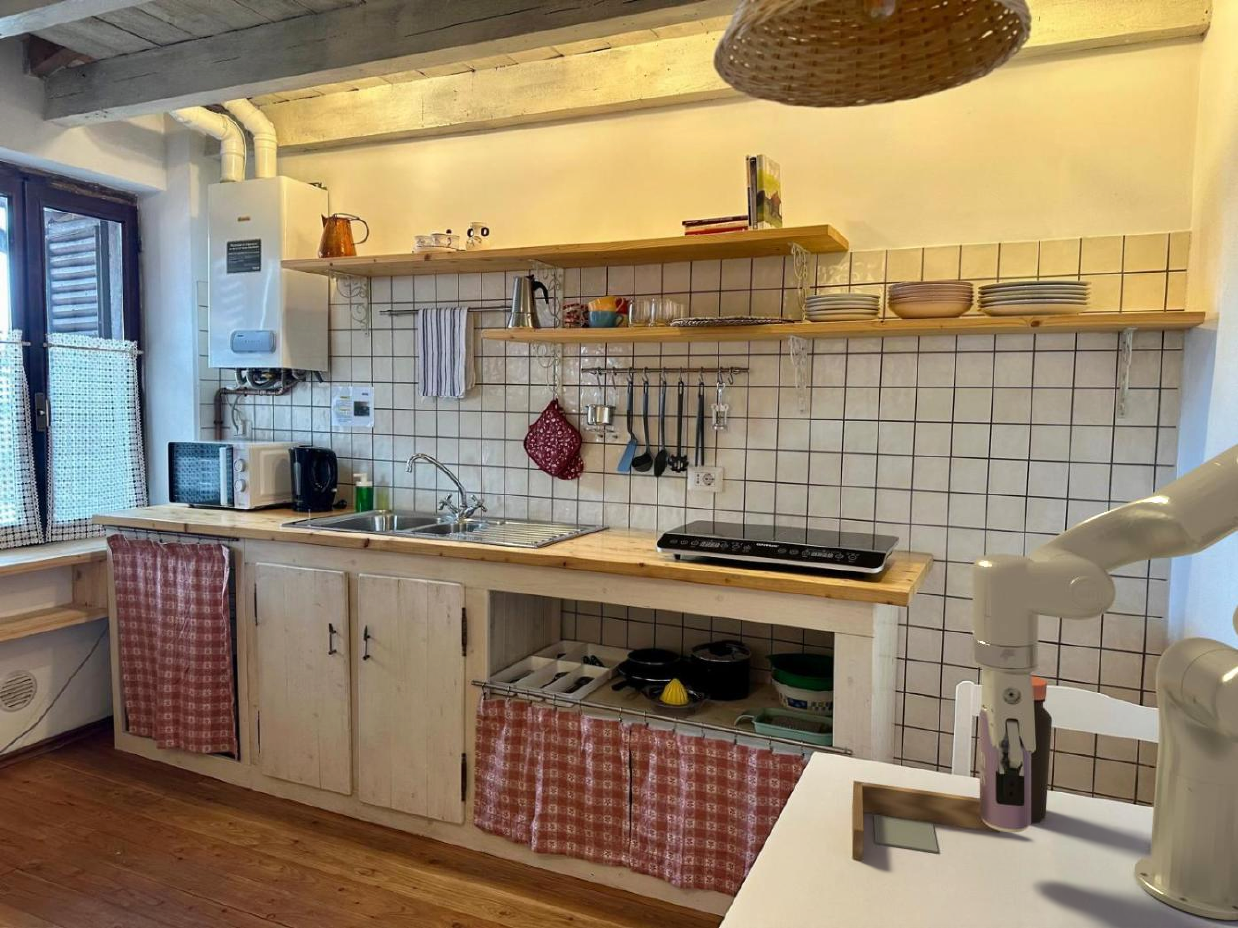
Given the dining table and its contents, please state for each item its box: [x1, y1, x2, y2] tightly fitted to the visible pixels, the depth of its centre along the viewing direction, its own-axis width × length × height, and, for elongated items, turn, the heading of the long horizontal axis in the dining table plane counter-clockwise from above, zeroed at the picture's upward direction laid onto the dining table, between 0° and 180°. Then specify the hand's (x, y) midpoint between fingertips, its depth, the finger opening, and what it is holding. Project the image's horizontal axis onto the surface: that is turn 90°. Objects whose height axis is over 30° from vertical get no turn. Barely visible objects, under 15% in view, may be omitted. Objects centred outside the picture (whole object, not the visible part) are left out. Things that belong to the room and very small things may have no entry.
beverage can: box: [978, 702, 1032, 833], centre depth 108 cm, size 6×6×15 cm
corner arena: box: [851, 780, 1001, 861], centre depth 115 cm, size 20×15×4 cm
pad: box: [873, 814, 939, 854], centre depth 117 cm, size 8×8×1 cm
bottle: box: [1031, 675, 1053, 823], centre depth 124 cm, size 7×7×20 cm
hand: (1005, 790), depth 108 cm, fingers closed on beverage can, 6 cm apart
